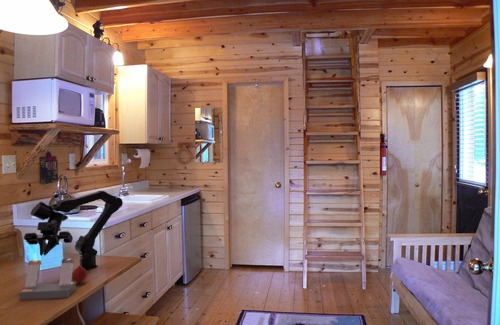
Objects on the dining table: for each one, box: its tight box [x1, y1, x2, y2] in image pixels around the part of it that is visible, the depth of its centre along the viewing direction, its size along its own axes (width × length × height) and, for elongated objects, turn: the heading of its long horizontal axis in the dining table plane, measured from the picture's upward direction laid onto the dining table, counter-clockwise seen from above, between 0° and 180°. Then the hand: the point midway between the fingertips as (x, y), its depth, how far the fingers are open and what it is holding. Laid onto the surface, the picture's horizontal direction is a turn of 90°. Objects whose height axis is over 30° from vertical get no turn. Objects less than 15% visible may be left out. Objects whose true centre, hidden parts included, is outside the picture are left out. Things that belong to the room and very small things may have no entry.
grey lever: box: [58, 258, 75, 285], centre depth 142 cm, size 2×4×10 cm, turn 94°
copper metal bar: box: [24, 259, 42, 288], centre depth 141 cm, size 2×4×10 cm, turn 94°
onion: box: [72, 264, 88, 284], centre depth 152 cm, size 6×6×8 cm
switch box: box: [18, 281, 77, 301], centre depth 140 cm, size 8×18×3 cm, turn 95°
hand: (42, 255), depth 149 cm, fingers closed
